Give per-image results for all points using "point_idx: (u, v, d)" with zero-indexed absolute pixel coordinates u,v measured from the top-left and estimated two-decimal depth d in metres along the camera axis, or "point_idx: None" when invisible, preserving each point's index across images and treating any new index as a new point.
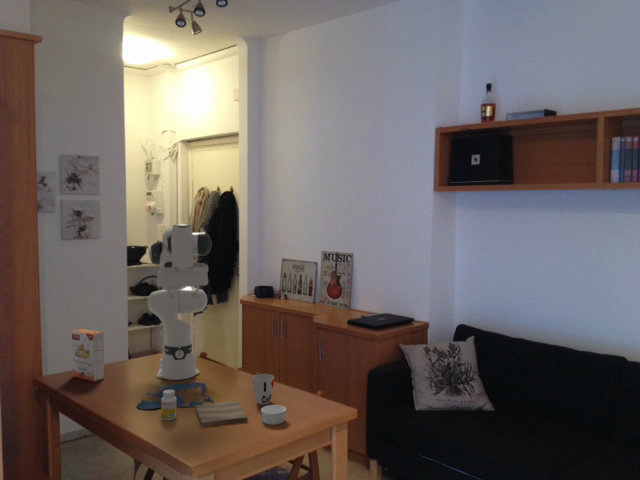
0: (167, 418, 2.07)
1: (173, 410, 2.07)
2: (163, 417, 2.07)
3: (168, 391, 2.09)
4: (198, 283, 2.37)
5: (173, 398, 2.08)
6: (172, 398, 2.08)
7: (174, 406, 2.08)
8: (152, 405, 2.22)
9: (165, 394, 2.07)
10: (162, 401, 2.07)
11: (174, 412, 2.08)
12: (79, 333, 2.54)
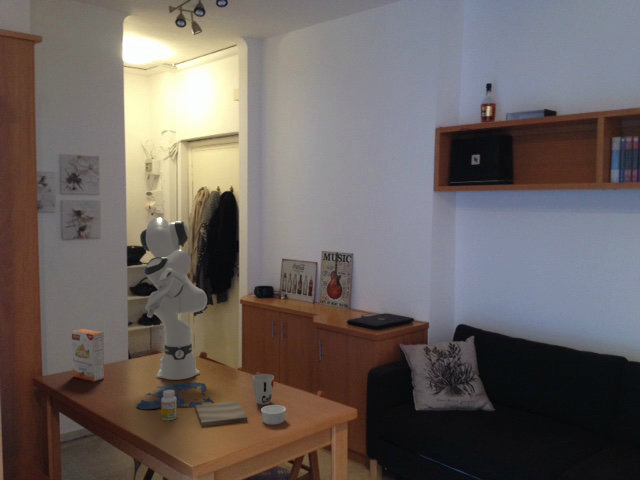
0: (167, 418, 2.07)
1: (173, 410, 2.07)
2: (163, 417, 2.07)
3: (168, 391, 2.09)
4: None
5: (173, 398, 2.08)
6: (172, 398, 2.08)
7: (174, 406, 2.08)
8: (152, 405, 2.22)
9: (165, 394, 2.07)
10: (162, 401, 2.07)
11: (174, 412, 2.08)
12: (79, 333, 2.54)
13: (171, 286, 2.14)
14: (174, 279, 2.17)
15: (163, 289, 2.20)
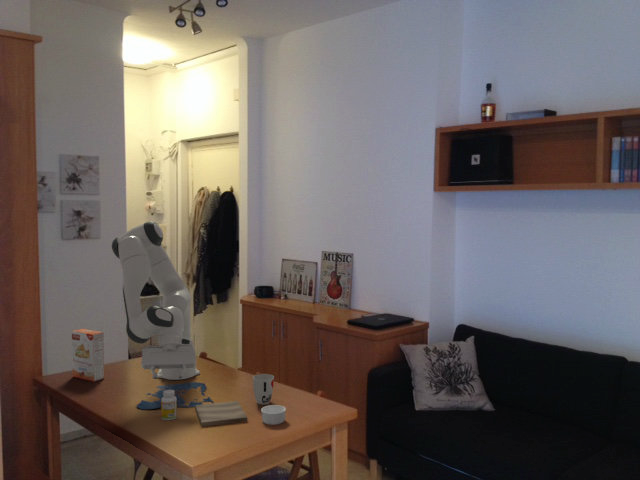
0: (167, 418, 2.07)
1: (173, 410, 2.07)
2: (163, 417, 2.07)
3: (168, 391, 2.09)
4: None
5: (173, 398, 2.08)
6: (172, 398, 2.08)
7: (174, 406, 2.08)
8: (152, 405, 2.22)
9: (165, 394, 2.07)
10: (162, 401, 2.07)
11: (174, 412, 2.08)
12: (79, 333, 2.54)
13: (195, 359, 2.21)
14: None
15: (176, 355, 2.21)
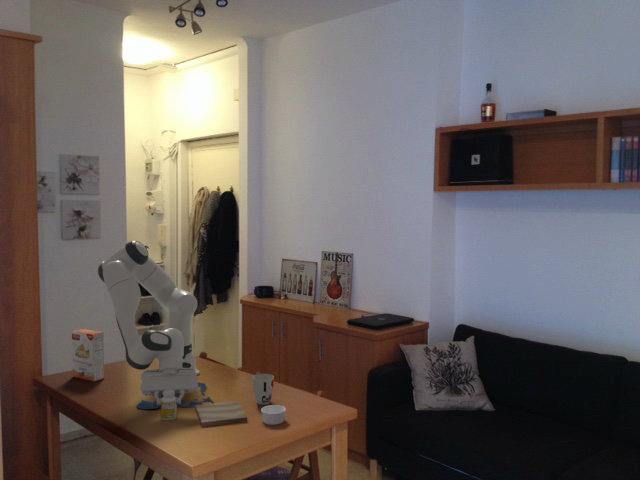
0: (167, 418, 2.07)
1: (173, 410, 2.07)
2: (163, 417, 2.07)
3: (168, 391, 2.09)
4: None
5: (173, 398, 2.08)
6: (172, 398, 2.08)
7: (174, 406, 2.08)
8: (152, 405, 2.22)
9: (165, 394, 2.07)
10: (162, 401, 2.07)
11: (174, 412, 2.08)
12: (79, 333, 2.54)
13: (197, 384, 2.13)
14: (196, 375, 2.16)
15: (177, 379, 2.13)
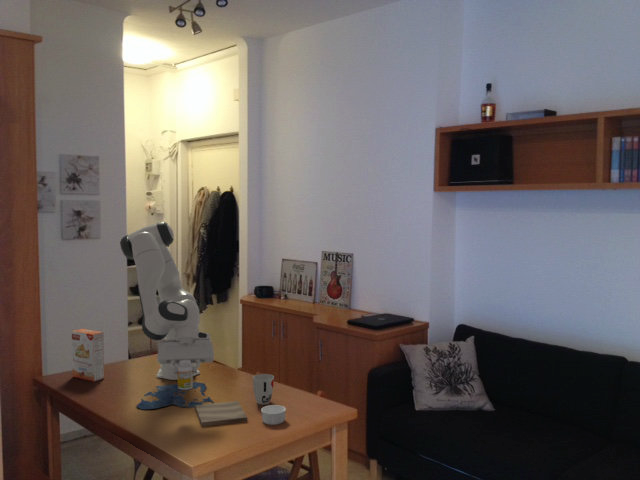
0: (183, 387, 2.08)
1: (189, 379, 2.08)
2: (179, 386, 2.08)
3: (184, 361, 2.10)
4: None
5: (189, 368, 2.09)
6: (189, 368, 2.09)
7: (190, 375, 2.09)
8: (152, 405, 2.22)
9: (181, 363, 2.08)
10: (178, 370, 2.08)
11: (190, 381, 2.09)
12: (79, 333, 2.54)
13: (213, 354, 2.14)
14: (212, 345, 2.16)
15: (193, 349, 2.14)
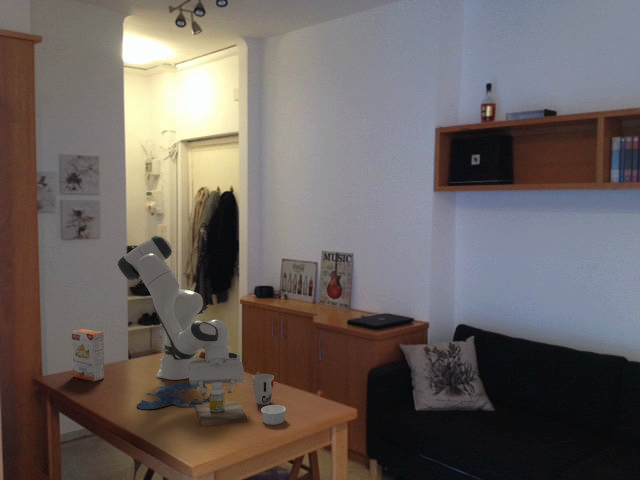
0: (216, 410, 2.11)
1: (221, 401, 2.12)
2: (212, 409, 2.12)
3: (216, 383, 2.13)
4: None
5: (221, 390, 2.12)
6: (221, 390, 2.12)
7: (222, 398, 2.12)
8: (152, 405, 2.22)
9: (214, 386, 2.12)
10: (211, 393, 2.12)
11: (222, 404, 2.12)
12: (79, 333, 2.54)
13: None
14: (242, 365, 2.20)
15: (224, 370, 2.18)
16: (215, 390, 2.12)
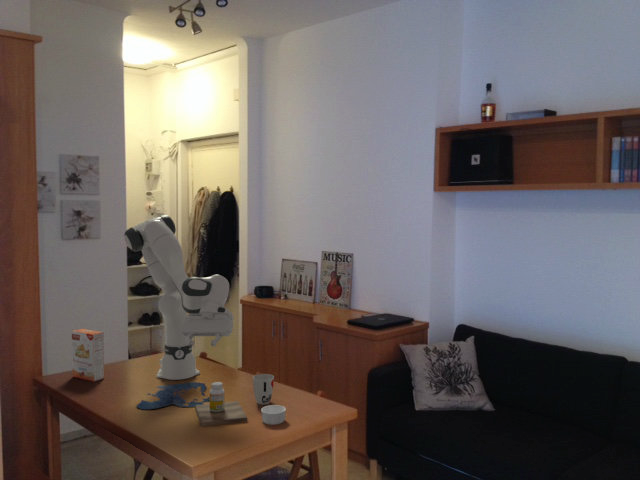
0: (216, 410, 2.11)
1: (221, 401, 2.12)
2: (212, 409, 2.12)
3: (216, 383, 2.13)
4: None
5: (221, 390, 2.12)
6: (221, 390, 2.12)
7: (222, 398, 2.12)
8: (152, 405, 2.22)
9: (214, 386, 2.12)
10: (211, 393, 2.12)
11: (222, 404, 2.12)
12: (79, 333, 2.54)
13: (228, 328, 2.18)
14: (229, 320, 2.20)
15: (212, 323, 2.21)
16: (215, 390, 2.12)
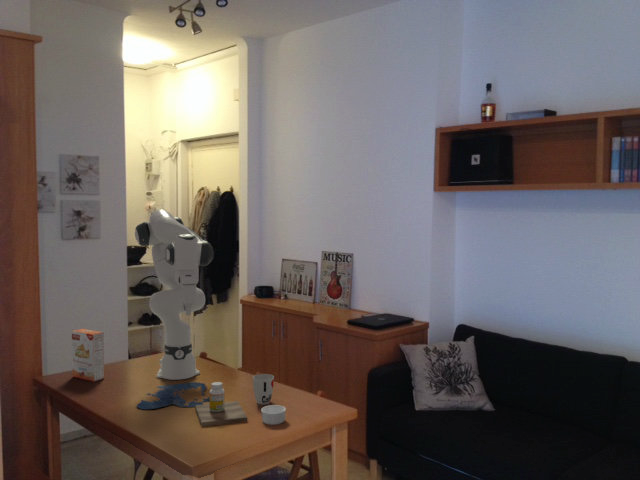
0: (216, 410, 2.11)
1: (221, 401, 2.12)
2: (212, 409, 2.12)
3: (216, 383, 2.13)
4: None
5: (221, 390, 2.12)
6: (221, 390, 2.12)
7: (222, 398, 2.12)
8: (152, 405, 2.22)
9: (214, 386, 2.12)
10: (211, 393, 2.12)
11: (222, 404, 2.12)
12: (79, 333, 2.54)
13: (185, 300, 2.13)
14: (185, 290, 2.13)
15: None
16: (215, 390, 2.12)
